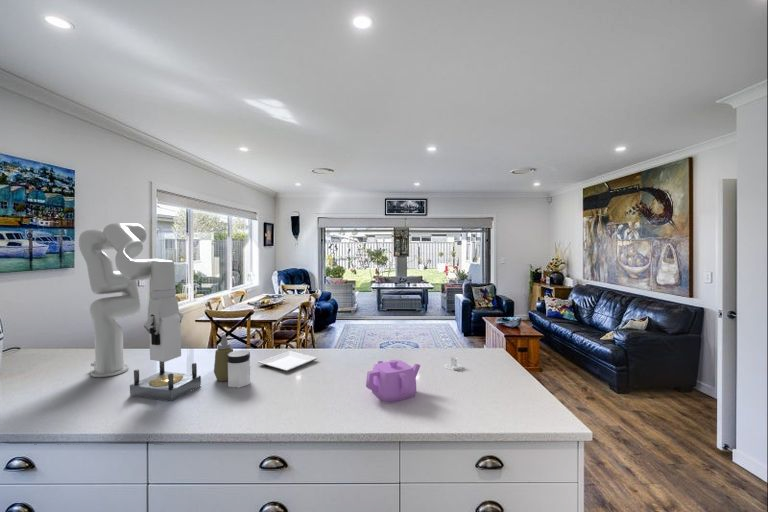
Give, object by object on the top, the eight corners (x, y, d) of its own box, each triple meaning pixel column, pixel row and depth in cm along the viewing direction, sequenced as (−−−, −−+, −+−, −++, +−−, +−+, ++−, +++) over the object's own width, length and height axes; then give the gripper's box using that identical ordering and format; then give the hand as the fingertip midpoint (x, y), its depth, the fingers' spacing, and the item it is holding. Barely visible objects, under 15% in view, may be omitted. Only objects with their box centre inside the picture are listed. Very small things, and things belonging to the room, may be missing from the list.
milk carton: (181, 356, 138) (179, 306, 137) (164, 362, 131) (162, 310, 130) (167, 354, 140) (165, 305, 139) (149, 360, 134) (148, 308, 132)
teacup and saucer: (461, 372, 157) (461, 363, 157) (442, 370, 159) (442, 361, 159) (463, 365, 165) (463, 356, 165) (445, 363, 168) (446, 354, 168)
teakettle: (363, 400, 129) (363, 366, 128) (378, 382, 145) (378, 351, 145) (411, 407, 124) (411, 371, 124) (420, 387, 141) (421, 355, 140)
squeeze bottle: (227, 383, 143) (226, 338, 142) (209, 381, 145) (208, 337, 144) (239, 375, 151) (238, 332, 150) (222, 374, 153) (221, 331, 152)
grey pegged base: (130, 395, 132) (129, 371, 131) (162, 380, 146) (161, 358, 145) (171, 401, 128) (170, 376, 127) (200, 385, 141) (200, 362, 141)
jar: (250, 386, 141) (250, 355, 140) (227, 389, 138) (227, 358, 137) (250, 377, 149) (249, 348, 148) (228, 380, 146) (227, 351, 145)
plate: (317, 361, 169) (317, 357, 169) (286, 374, 153) (286, 370, 153) (289, 354, 179) (289, 350, 179) (257, 365, 163) (257, 361, 163)
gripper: (174, 290, 144) (175, 334, 145) (133, 297, 127) (135, 347, 128) (190, 290, 142) (191, 335, 143) (151, 298, 125) (153, 349, 126)
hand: (165, 341), depth 135 cm, fingers closed on milk carton, 7 cm apart
